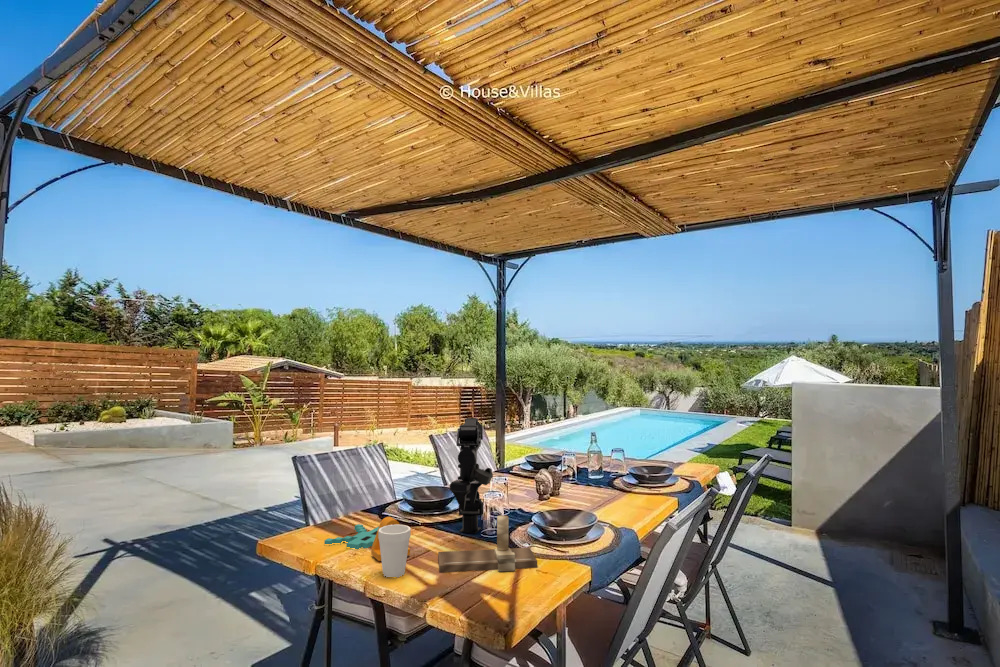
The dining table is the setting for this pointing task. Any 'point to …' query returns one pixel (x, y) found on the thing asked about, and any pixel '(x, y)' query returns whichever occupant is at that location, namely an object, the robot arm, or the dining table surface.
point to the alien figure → (357, 538)
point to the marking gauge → (504, 546)
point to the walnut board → (482, 560)
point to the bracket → (376, 545)
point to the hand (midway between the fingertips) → (467, 506)
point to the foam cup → (394, 549)
